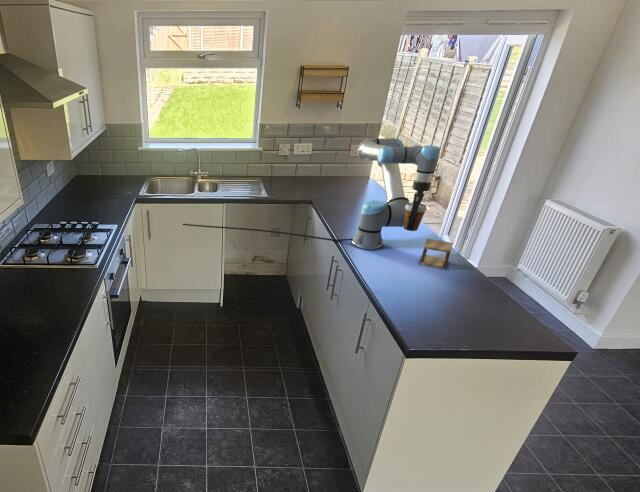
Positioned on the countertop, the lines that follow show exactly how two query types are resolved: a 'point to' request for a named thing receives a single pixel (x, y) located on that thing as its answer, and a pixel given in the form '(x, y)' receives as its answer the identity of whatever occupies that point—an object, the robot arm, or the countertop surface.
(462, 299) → the countertop surface
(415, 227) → the disposable coffee cup
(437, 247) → the oak rack
